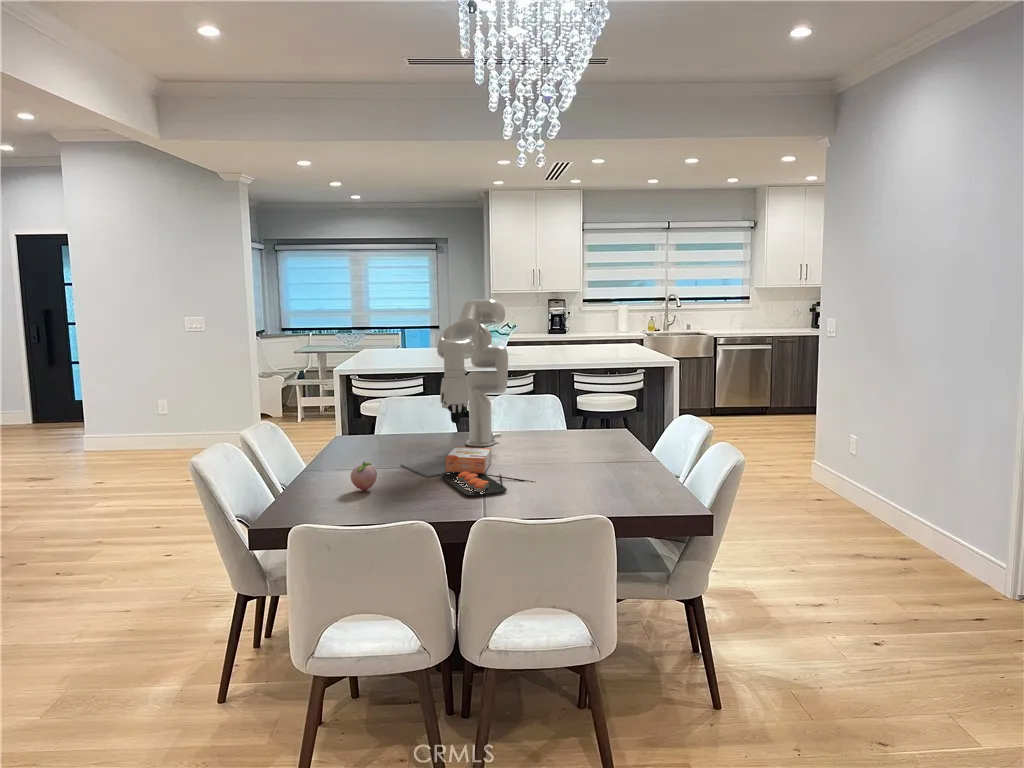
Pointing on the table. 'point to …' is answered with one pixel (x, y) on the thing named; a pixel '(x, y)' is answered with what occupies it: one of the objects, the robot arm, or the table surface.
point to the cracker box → (468, 460)
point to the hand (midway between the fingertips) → (455, 422)
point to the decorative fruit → (364, 476)
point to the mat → (428, 467)
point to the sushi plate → (476, 483)
